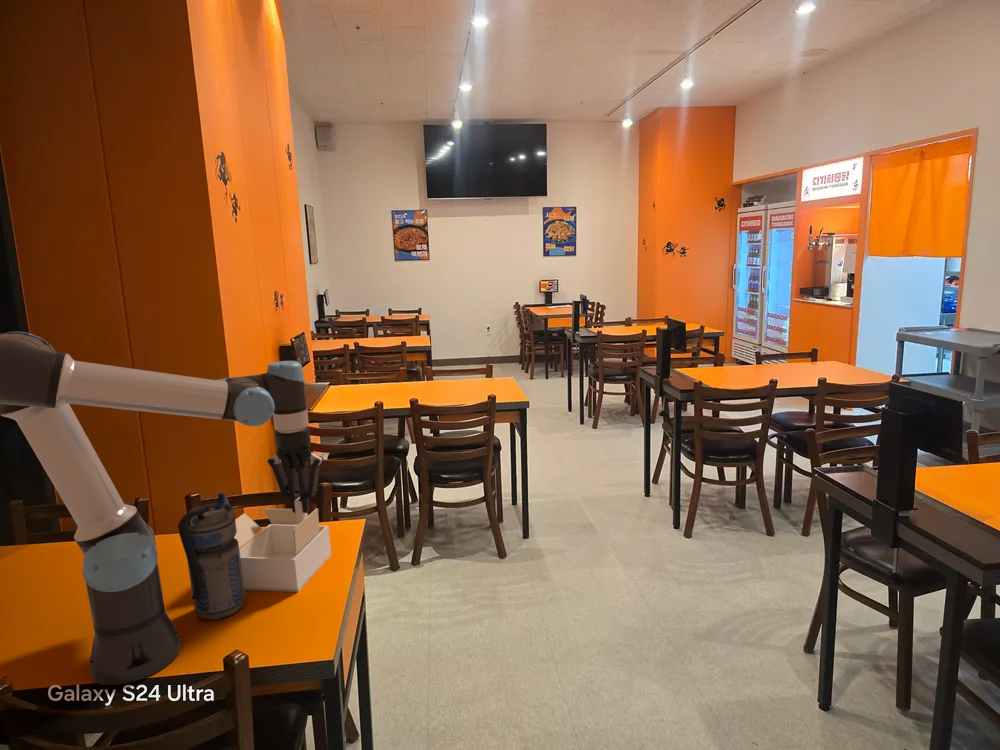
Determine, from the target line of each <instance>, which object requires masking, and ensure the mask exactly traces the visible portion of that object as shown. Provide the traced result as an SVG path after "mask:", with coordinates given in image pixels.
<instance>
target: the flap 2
mask: <svg viewBox="0 0 1000 750" xmlns="http://www.w3.org/2000/svg"><path fill="white" fill-rule="evenodd" d="M319 517H320V516H319V508H317V507H316V508H315V509H314V510H313V511H311V513H308V516H307V517H306V518H305V519H304V520H303V521H302V522H301V523H299V524H298V525H297V526H296V527H295V528H294V529H293V538H294V552H295V554H297V553H298V552H299V551H300V550H301V549H302V548H303V547H304V546H305V545H306V544H307V543H308V542H309V541H310V540H311V539H312V538H313V537H314V536H315V535H316V534H317V533H318V532H319V526H320V521H319V519H320V518H319Z"/></svg>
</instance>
